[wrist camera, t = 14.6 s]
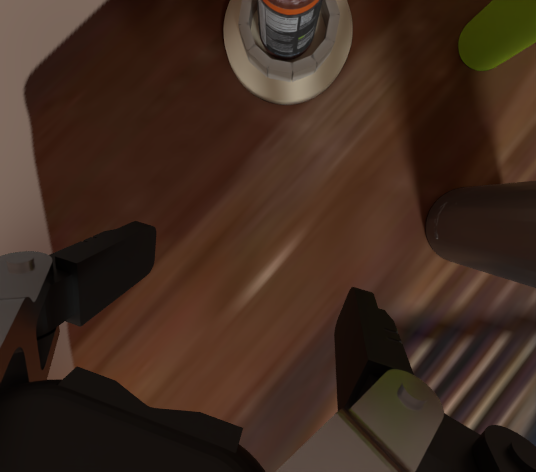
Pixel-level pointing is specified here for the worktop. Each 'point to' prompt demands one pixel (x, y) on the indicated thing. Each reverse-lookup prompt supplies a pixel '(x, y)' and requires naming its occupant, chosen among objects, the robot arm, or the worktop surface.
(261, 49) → the collar plate
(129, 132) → the worktop surface
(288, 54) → the supplement bottle
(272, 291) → the worktop surface
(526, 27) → the soap dispenser
